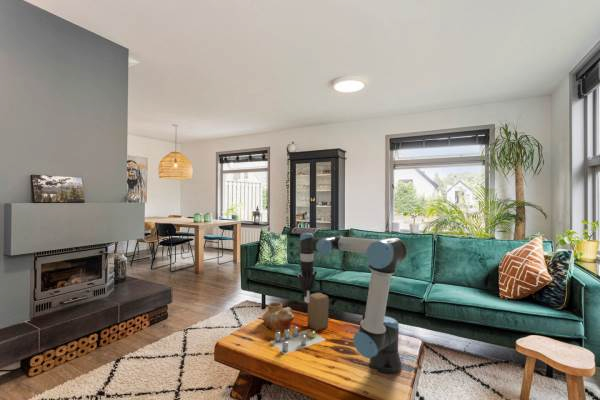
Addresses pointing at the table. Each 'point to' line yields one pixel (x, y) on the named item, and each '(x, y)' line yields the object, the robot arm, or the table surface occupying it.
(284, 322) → the ceramic vessel
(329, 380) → the table surface
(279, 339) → the spacers
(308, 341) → the board
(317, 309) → the wooden block
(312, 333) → the brass round knob
